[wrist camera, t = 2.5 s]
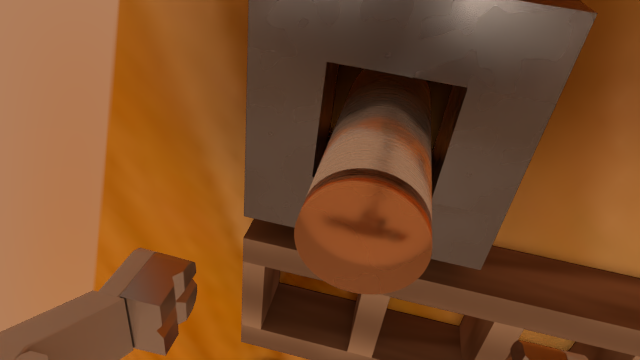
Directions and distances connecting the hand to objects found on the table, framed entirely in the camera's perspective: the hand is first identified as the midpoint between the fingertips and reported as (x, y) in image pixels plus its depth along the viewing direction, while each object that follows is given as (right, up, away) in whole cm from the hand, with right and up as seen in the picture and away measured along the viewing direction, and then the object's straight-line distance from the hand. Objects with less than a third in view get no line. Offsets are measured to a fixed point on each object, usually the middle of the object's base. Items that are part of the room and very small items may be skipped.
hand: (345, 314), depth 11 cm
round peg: (+3, +7, +11) cm, 13 cm away
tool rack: (+6, -4, +17) cm, 18 cm away
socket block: (+3, +7, +11) cm, 13 cm away
